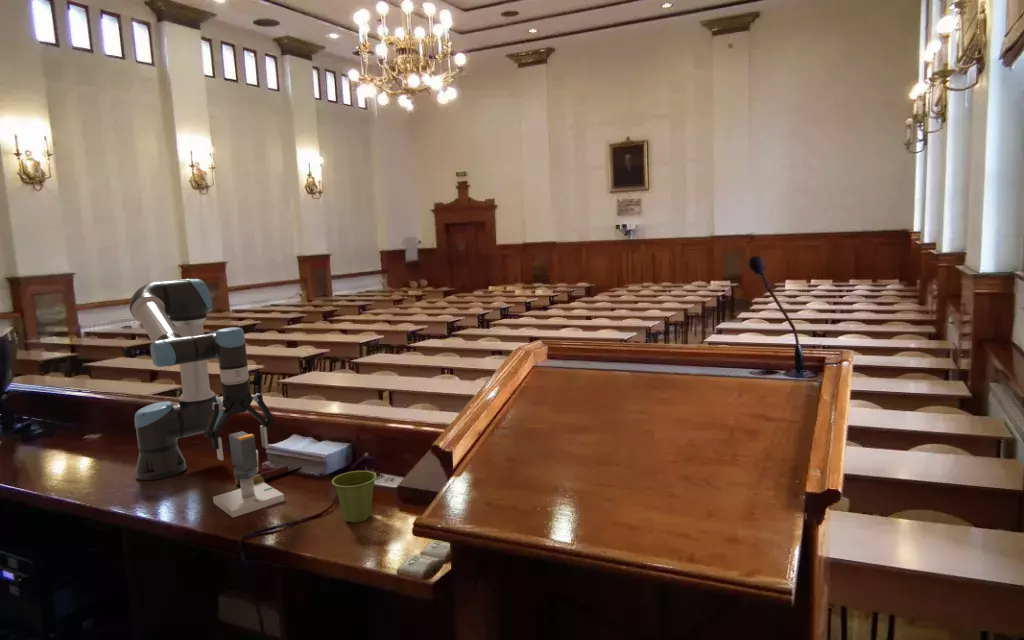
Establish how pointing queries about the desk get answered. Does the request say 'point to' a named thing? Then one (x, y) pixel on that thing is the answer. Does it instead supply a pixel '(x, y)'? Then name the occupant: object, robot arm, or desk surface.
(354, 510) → the plant pot
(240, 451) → the grey block orange cap
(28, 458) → the desk surface
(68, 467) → the desk surface
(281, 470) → the gavel
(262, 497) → the base
